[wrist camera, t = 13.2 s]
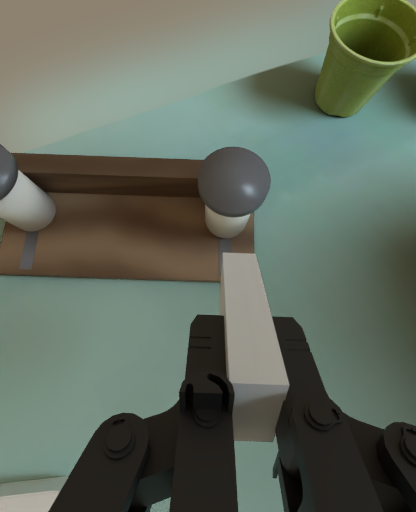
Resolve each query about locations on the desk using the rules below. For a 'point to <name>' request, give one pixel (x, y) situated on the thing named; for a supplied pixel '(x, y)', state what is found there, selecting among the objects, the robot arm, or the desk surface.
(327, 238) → the desk surface
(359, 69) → the plant pot
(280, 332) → the robot arm
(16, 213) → the knob
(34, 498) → the computer
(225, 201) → the knob
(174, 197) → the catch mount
